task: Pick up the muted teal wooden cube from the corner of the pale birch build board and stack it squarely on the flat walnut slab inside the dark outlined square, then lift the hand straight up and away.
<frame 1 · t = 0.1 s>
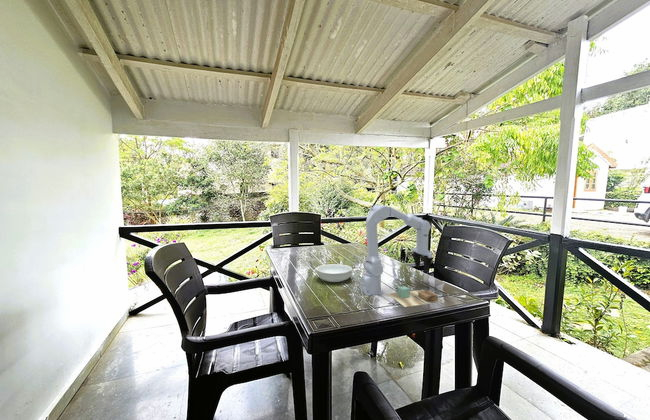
hand: (421, 268, 143), 10 cm above the table, tool pointing down, fingers open, 7 cm apart
walnut slab: (427, 298, 127), resting on build board
teal block: (403, 296, 130), resting on build board
serving bowl: (334, 280, 158), on the table
build board: (414, 298, 128), on the table
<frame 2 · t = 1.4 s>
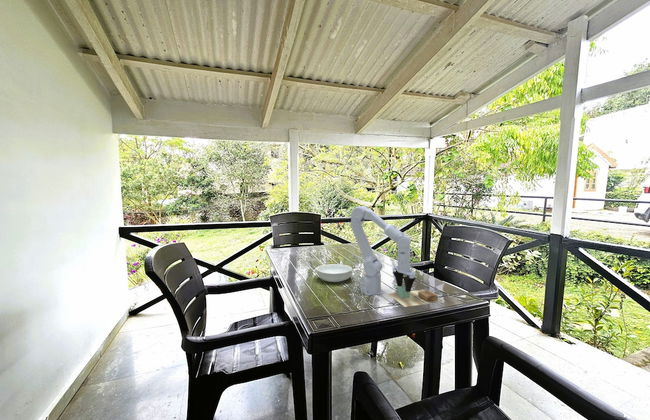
hand: (403, 288, 130), 4 cm above the table, tool pointing down, fingers open, 7 cm apart
nothing on the table moved.
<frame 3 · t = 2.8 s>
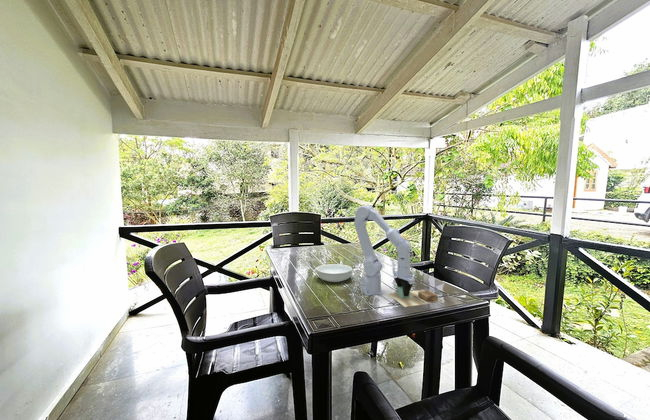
hand: (403, 294, 130), 1 cm above the table, tool pointing down, fingers closed on teal block, 4 cm apart
teal block: (403, 296, 130), resting on build board, touching gripper
everything else where it was.
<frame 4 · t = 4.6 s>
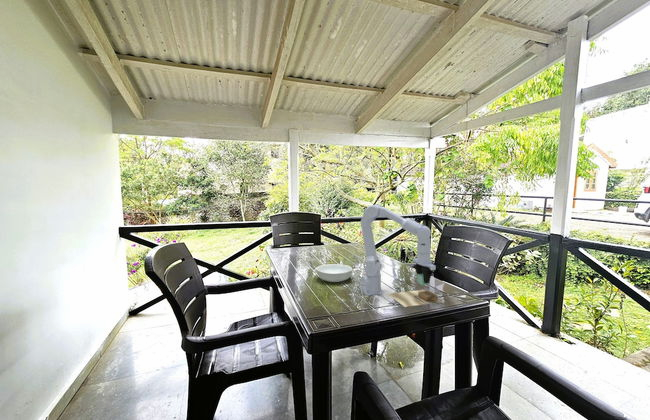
hand: (423, 281, 127), 9 cm above the table, tool pointing down, fingers closed on teal block, 4 cm apart
teal block: (423, 283, 127), point 8 cm above the table, touching gripper
everything else where it was.
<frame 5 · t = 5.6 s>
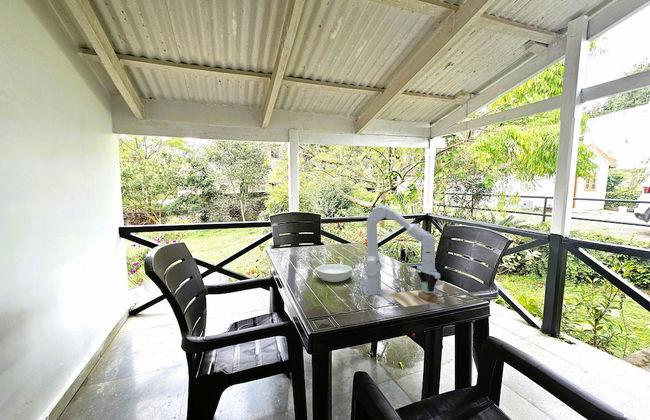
hand: (427, 289, 127), 5 cm above the table, tool pointing down, fingers closed on teal block, 4 cm apart
teal block: (427, 291, 127), point 4 cm above the table, touching gripper
everything else where it was.
when the fingers open (5 cm above the table, at t = 6.4 s): teal block stays where it is, resting on walnut slab.
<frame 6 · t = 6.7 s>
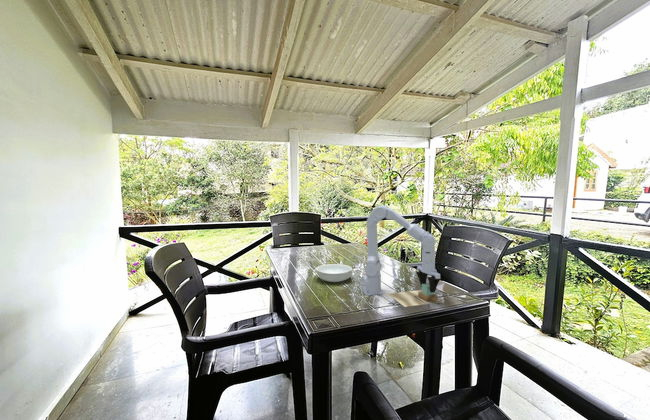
hand: (427, 289, 127), 5 cm above the table, tool pointing down, fingers open, 6 cm apart
walnut slab: (427, 298, 127), resting on build board, touching teal block
teal block: (427, 293, 127), point 3 cm above the table, touching walnut slab
everything else where it was.
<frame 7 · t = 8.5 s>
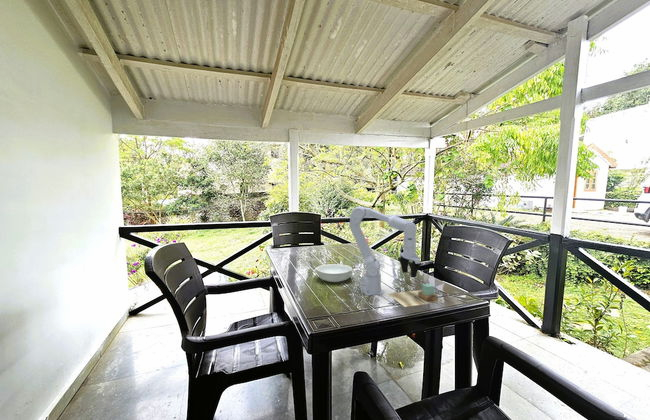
hand: (409, 274, 132), 10 cm above the table, tool pointing down, fingers open, 7 cm apart
nothing on the table moved.
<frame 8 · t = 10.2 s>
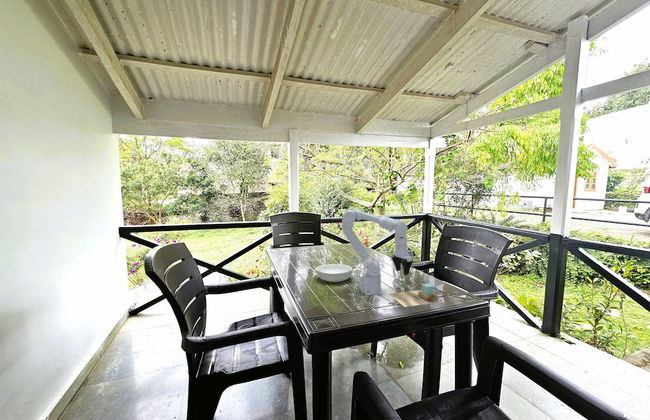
hand: (402, 272, 135), 10 cm above the table, tool pointing down, fingers open, 7 cm apart
nothing on the table moved.
at the end: teal block 0.0 cm off-centre on the walnut slab, point 2.5 cm above the walnut slab's base; teal block tilted 0°; walnut slab moved 0.0 cm from its start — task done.
